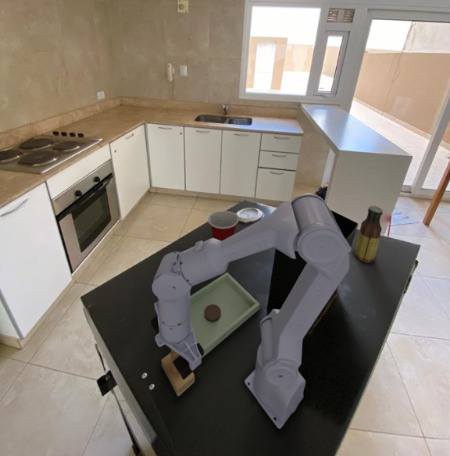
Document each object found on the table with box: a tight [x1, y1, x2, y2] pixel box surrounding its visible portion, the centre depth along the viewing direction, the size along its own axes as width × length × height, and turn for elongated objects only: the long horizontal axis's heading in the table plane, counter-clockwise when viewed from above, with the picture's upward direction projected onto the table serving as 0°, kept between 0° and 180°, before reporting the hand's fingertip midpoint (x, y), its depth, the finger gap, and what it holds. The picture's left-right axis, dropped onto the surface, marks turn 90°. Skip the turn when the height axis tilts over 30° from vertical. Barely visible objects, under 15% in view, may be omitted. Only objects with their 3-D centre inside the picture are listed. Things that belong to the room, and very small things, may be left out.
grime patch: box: [204, 304, 221, 322], centre depth 67 cm, size 4×4×1 cm
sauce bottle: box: [354, 205, 383, 264], centre depth 86 cm, size 6×6×20 cm
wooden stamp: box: [160, 348, 196, 397], centre depth 53 cm, size 7×4×8 cm, turn 40°
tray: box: [190, 272, 261, 359], centre depth 67 cm, size 14×22×2 cm, turn 130°
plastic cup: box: [207, 210, 240, 241], centre depth 90 cm, size 11×11×12 cm
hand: (177, 357), depth 52 cm, fingers open, 7 cm apart
